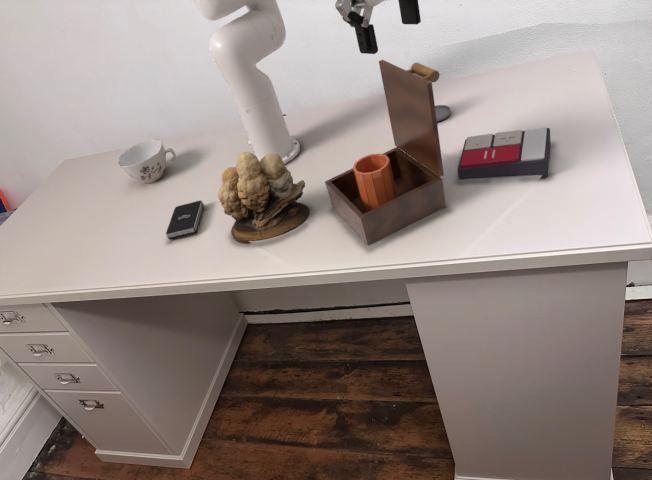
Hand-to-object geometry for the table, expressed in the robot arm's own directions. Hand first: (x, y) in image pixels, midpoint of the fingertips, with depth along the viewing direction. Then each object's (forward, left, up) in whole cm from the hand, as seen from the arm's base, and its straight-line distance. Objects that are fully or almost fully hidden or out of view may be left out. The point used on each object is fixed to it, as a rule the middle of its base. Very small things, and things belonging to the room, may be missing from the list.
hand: (390, 37), depth 79 cm
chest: (-4, -5, -31) cm, 31 cm away
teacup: (-73, -21, -31) cm, 82 cm away
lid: (-1, +2, -15) cm, 15 cm away
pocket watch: (-18, +26, -31) cm, 44 cm away
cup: (-4, -6, -30) cm, 30 cm away
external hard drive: (-43, -29, -31) cm, 60 cm away
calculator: (+7, +16, -31) cm, 35 cm away
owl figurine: (-23, -19, -31) cm, 43 cm away
